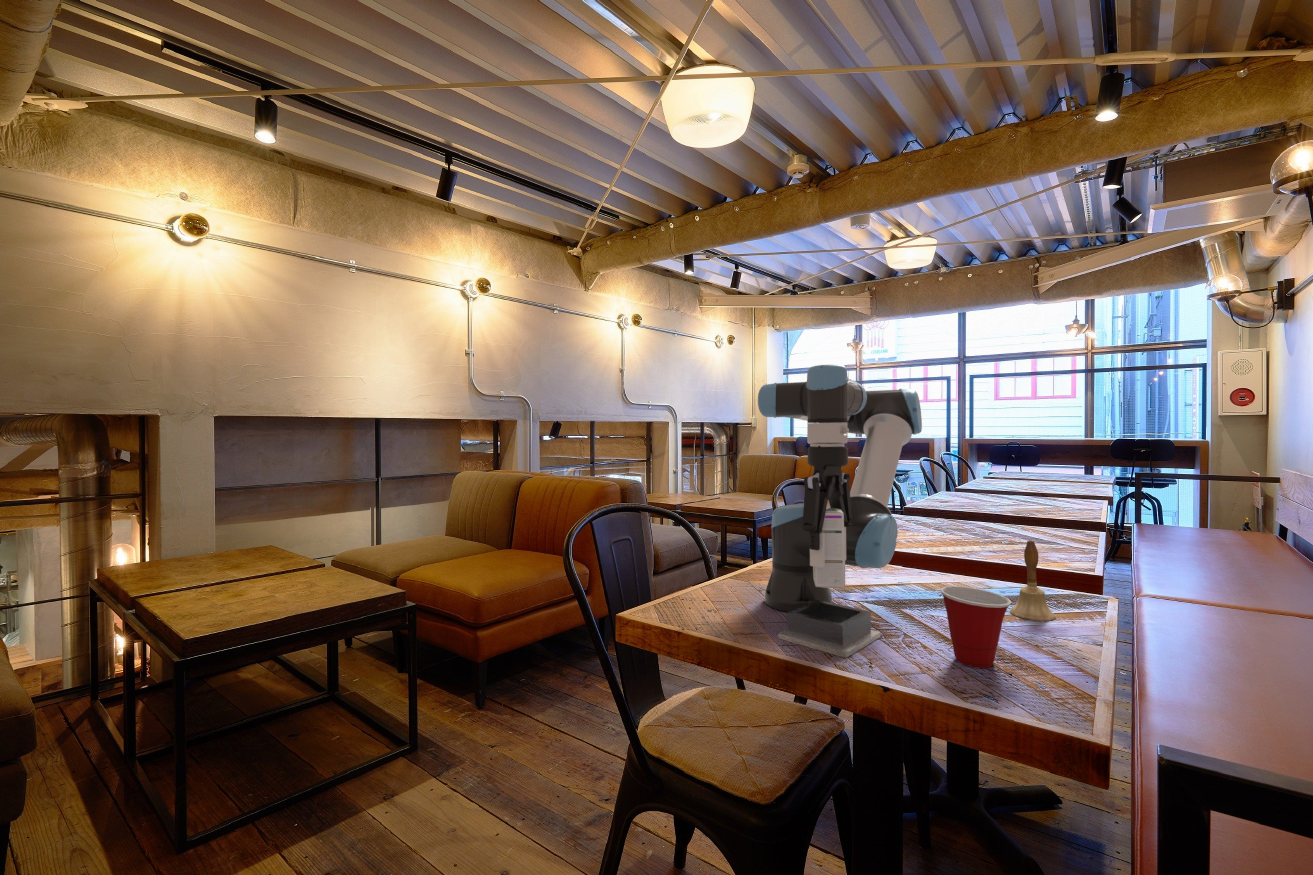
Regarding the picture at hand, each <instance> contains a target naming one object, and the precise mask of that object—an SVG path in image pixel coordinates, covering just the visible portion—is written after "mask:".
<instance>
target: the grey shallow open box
mask: <svg viewBox="0 0 1313 875" xmlns="http://www.w3.org/2000/svg"><path fill="white" fill-rule="evenodd" d="M871 615H872V613H871V611H869V610H864V609H861V608H855V607H852V606H851V607H850V606H846V605H842V604H837V603H833V602H832V603H829V602H825V601H820V600H816V601H814V602H812V603H809V604H807V605H805V606H802V607H800V608H798V609H796V610H793V611H791V612H787V629H785V630H783V631H781V632H779V633H778V639H780V640H782V641H786V642H789V643H793V644H795V645H796V644H797V645H799V646H800V645H801V646H803V647H805V648H811V649H813V650H817V651H821V652H823V653H828V654H830V655H835V656H838V657H842V658H844V659H845V658H846V659H847V658H849V657H850V656H852V655H854V654H855V653H856V652H859V651H860V650H862V649H863V648H865V647H867V646H868V645H870V644H871V643H873V642H875V641H877V640H878V639H880V638H881V631H877V630H874V629H871V628H872V622H871V621H872V620H871V619H872V616H871Z"/></svg>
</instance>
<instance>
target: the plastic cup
mask: <svg viewBox="0 0 1313 875" xmlns="http://www.w3.org/2000/svg"><path fill="white" fill-rule="evenodd" d="M940 593H941V596H942V598H943V602H944V606H945V611H946V617H947V623H948V629H949V630H948V631H949V635H950V636H949V637H950V640H951V642H952V643H951V644H952V648H953V649H952V650H953V654H954V658H955V660H956V661H957V662H958V663H959V664H961V665H964V666H965V667H966V666H967V667H971V668H978V669H987V668H991V667H992V666H993V665H994V662H995V659H996V652H997V647H998V646H999V641H1000V636H1001V631H1002V625H1003V623H1004V622H1003V620H1004V618H1005V614H1006V612H1007V610H1008V607H1010V606H1011V604H1012V601H1011V600H1010V599H1009V598H1008V597H1006V596H1005V595H1001V594H999V593H995V592H993V591H988V590H984V589H979V588H974V587H967V586H959V585H958V586H954V585H949V586H943V587H941V588H940Z"/></svg>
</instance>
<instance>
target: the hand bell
mask: <svg viewBox="0 0 1313 875" xmlns="http://www.w3.org/2000/svg"><path fill="white" fill-rule="evenodd" d="M1023 553H1024V554H1023V556H1024V557H1023V559H1024V563H1025V566H1026V571H1027V573H1026V574H1027V576H1026V577H1027V579H1026V581H1027V585H1026V586H1023V587H1021V588H1020V590H1019V593H1018V594H1019V595H1018V598H1017V601H1016V604H1014V606H1012V607H1011V608H1010V610H1009V613H1010V614H1011V615H1013V616H1014V617H1015V616H1016V617H1018V618H1020V619H1024V620H1029V621H1030V620H1031V621H1036V622H1040V621H1041V622H1050V621H1054V620H1055V619H1056V614H1055V613H1054V612H1053V611H1052V610H1051V609H1050V608H1049V605H1048V603H1047V599H1046V593H1045V591H1044V590H1043V589H1041V588H1040V587H1038V585H1037V584H1038V582H1037V568H1038V565H1039V552H1038V548H1037V546H1036V543H1035V540H1027V542H1026V545H1025V548H1024V552H1023Z"/></svg>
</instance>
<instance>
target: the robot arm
mask: <svg viewBox="0 0 1313 875" xmlns="http://www.w3.org/2000/svg"><path fill="white" fill-rule="evenodd" d="M920 403H921V402H920V398H919V395H918V391H916V389H915V390H914V389H912V388H907V389H906V388H905V389H904V388H899V389H885V390H884V389H882V390H881V389H880V390H866V388H864V386H863V385H862V384H860V383H859V382H857V381H856V380H854V379H849V376H848V368H847V367H846V366H845V365H843V364H820V365H819V364H818V365H813V366H811V367H809V368H808V369H807V375H806V381H797V382H782V383H781V382H780V383H779V382H774V383H766V384H764V385H762V386H761V387H760V389H759V390H758V394H757V407H758V410H759V413H760V414H761V415H762V416H763V417H765V418H774V419H776V418H789V419H797V420H802V421H807V423H806V424H807V427H806V428H807V430H806V431H807V436H806V437H807V438H806V439H807V442H806V443H807V444H809V445H810V446H808V448H807V465H808V466H812V467H813V472H812V476H804V478H803V483H804V497H803V498H804V499H803V503H796V504H795V503H794V504H787V505H782V506H779V507H776V508H775V509H774V510H773V511H772V516H771V526H770V528H771V556H772V558H771V560H772V563H771V564H772V566H771V567H772V569H771V573H770V576H769V579H768V582H767V586H766V589H765V592H764V601H765V602H764V603H765V604H766V605H767V606H768V607H770V608H772V609H775V610H777V611H781V612H786V613H789V612H791V611H793V610H796V609H798V608H800V607H802V606H805V605H807V604H809V603H812V602H814V601H816V600H820V601H825V602H829V603H833V596H832V592H831V588H824V587H816V586H815V583H814V579H813V566H814V567H820V568H824V567H825V533H822V528H823V523H824V517H825V512H826V508H828V507H827V506H828V504H829V508H837V509H841V511H842V512H843V513H844V541H845V566H850V567H851V566H852V567H856V568H857V567H859V568H860V569H883V568H885V567H886V566H888V564H889V563H890V562H891V560H892V559H893V556H894V553H895V551H896V548H897V538H898V533H899V531H898V523H897V520H896V518H895V517H894V516H893V515H892V512H891V510H890V509H889V507H888V506H889V502H890V499H891V493H892V489H893V485H894V481H895V477H896V472H897V470H898V469H897V468H898V466H899V460H900V458H901V457H900V456H901V454H902V448H903V446H905V445H906V444H908V443H909V442H910V440H911V438H912V435H915V436H916V435H917V434H918V435H919V434H921V432H922V430H923V428H922V427H923V422H922V419H923V418H922V411H921V410H922V409H921V404H920ZM848 434H854V435H865V437H866V438H865V442H864V445H863V449H862V452H861V455H860V459H859V462H858V466H857V469H856V472H855V475H854V479H853V482H852V485H851V488H850V482H851V481H850V480H851V479H850V478H851V476H850V475H851V474H850V473H846V472H845V473H843V470H842V467H844V466H847V465H848V463H849V448H848V447H847V446H845V444H848V443H849V441H848V437H849V436H848Z"/></svg>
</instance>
